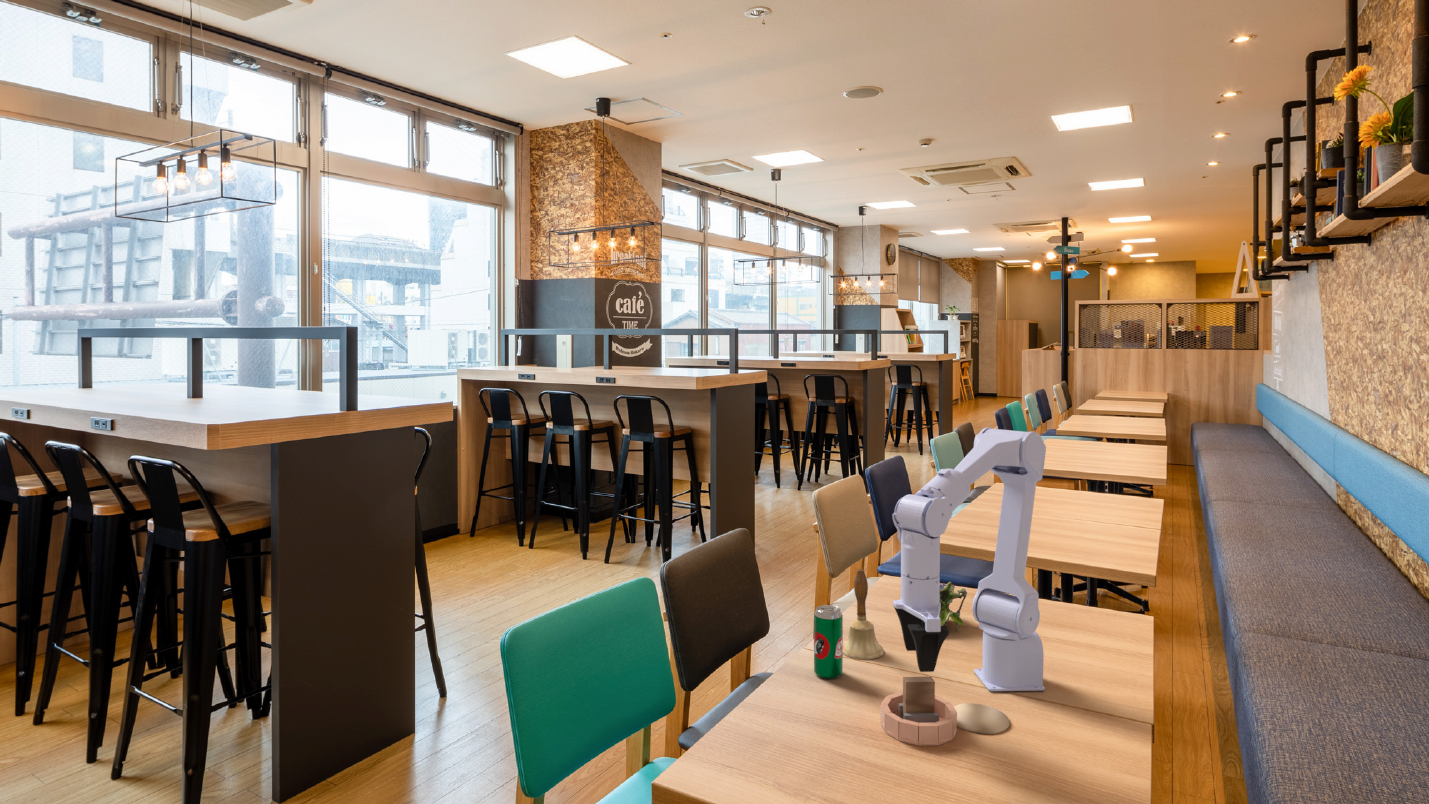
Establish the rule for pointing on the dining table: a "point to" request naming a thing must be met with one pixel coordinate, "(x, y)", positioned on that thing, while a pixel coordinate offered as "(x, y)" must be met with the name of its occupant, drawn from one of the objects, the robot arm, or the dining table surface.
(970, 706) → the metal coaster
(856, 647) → the hand bell
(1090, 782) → the dining table surface
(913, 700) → the brown rectangular block
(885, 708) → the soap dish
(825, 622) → the soda can
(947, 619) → the green leafy plant
